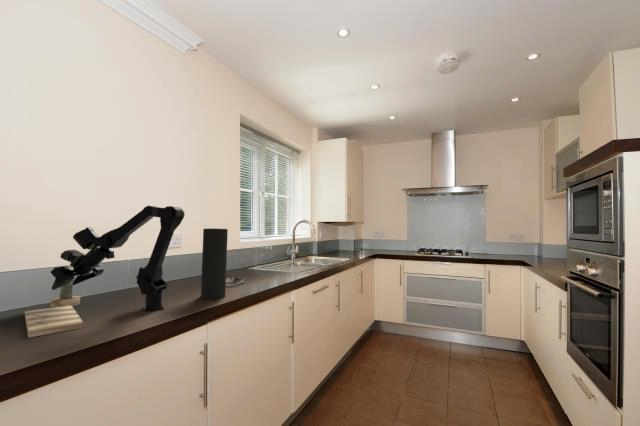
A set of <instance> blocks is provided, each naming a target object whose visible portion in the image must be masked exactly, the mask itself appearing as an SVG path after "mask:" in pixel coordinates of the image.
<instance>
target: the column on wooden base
mask: <svg viewBox="0 0 640 426" xmlns="http://www.w3.org/2000/svg"><path fill="white" fill-rule="evenodd" d="M68 268H69V270H73V267H68ZM73 281H74V279H73V280H72V281H70V282H71V283H69V284H66V285H64V286H62V287H60V288H59V297H57V298H53V299H50V307H49V308H53V307H60V306H67V305H72V307H73V308H74V307H75V306H78V305H80V304H81V296H80V295H79V296H78V295H73V288H74V287H73V286H74V285H73Z"/></svg>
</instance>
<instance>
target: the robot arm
mask: <svg viewBox="0 0 640 426" xmlns="http://www.w3.org/2000/svg"><path fill="white" fill-rule="evenodd" d="M153 218H160V219H159V222H160V230H159V233H158V235H157V238H156V241H155V244H154V246H153V249H152V252H151V254H150V258H149V260H148V263H147V264H146V265H144V266H140V267H139V269H138V273H137V275H136V277H135V278H136V284H137V286H138V288H139V290H140V292H141V295H144V305H143V306H142V308H143V311H144V312H149V311H155V310H156V311H157V310H164V309H165V307H164V304H163V291H165V290H167V288H168V283H167V282H166V281H165V280H164V279H163V273H164V272H163V264H164V260H165V257H166V254H167V252H168V249H169V247H170V244H171V241H172V238H173V236H174V233H175V231H176V230H177V228H179V226H180V225H181V223H182V222H183V220H184V218H185V212H184V209H183V208H182V207H179V206H171V205H167V206H165V207H157V206H155V205H146V206H144V208H143V209H142V210H141V211H139V212H138V213H137V214H135V215H134V216H133V217H131V218H130V219H128V220H127V221H126V222H125V223H123V224H122V225H120V226H118V227H117V228H115V229H111V230H109V231H107V232H105V233H103V234H102V235H101V236H99V235H98V234H97V233H96V232H95V230H94V228H92V227H91V226H90V227H89V226H88V227H85V228H84V229H81V230H80V231H79V230H78V232H76V233H74V234H73V236H72V239H73V240H74V241H75V242H76V243H77V245H79V246H80V247H81V249H82V250H89V251H87V252H86V253H83V252H82V251H79V250H77V249H68V250H65V251H63V252H61V254H60V259H62V260H63V261H66V262H68V263H69V266H70V267H71V268H73V270H69V268H70V267H68V266H67V265H61V266H55V267H54V268H52V269H51V270H50V274H51V275H52V276H53V277H54V278H55V279H54V282H53V283H52V286H51V290H52V291H56V290H58V289H60V287H62V286H64V285H66V284H69V283H71V282H70V281H72V280H73V286H75V285H78V284H81V283H83V282H86V281H88V280H91V279H93V278H96V277H98V276H101V275H102V274H103V273H104V268H103V267H102V264H101V263H102V262H103V261H104V260H105V259H107V260H109V259H114V258H115V251H114V250H111V249H118V248H120V247H122V246H124V244H126V242H127V241H128V240H129V238H130V237H131V235H132V234H134V233H135V232H136V231H137V230H138V229H140V228H141V227H143V226H144V225H145V224H147V223H148V222H149V221H150V220H152V219H153Z"/></svg>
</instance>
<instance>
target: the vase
mask: <svg viewBox="0 0 640 426" xmlns="http://www.w3.org/2000/svg"><path fill="white" fill-rule="evenodd" d="M202 234H203V235H202V254H201V255H202V258H201V261H202V262H201V280H200V281H201V285H200V298H201V299H203V300H218V299H222V298H224V297H226V287H227V286H226V285H227V283H226V279H227V263H228V262H227V257H228V256H227V255H228V228H203V233H202Z"/></svg>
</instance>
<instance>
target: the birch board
mask: <svg viewBox="0 0 640 426" xmlns="http://www.w3.org/2000/svg"><path fill="white" fill-rule="evenodd" d="M24 319H25V325H26V333H27V337H28V338H32V337H38V336H39V337H40V336H45V335H50V334H56V333H60V332H66V331H67V332H68V331H71V330H77V329H82V328H84V322H83V320H82V318H81V317H80V315H79V314H78V313H77V311H76V310H75V308H74V306H73V307H72V305H67V306H60V307H53V308H50V307H46V308H39V309H32V310H25V311H24Z"/></svg>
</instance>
